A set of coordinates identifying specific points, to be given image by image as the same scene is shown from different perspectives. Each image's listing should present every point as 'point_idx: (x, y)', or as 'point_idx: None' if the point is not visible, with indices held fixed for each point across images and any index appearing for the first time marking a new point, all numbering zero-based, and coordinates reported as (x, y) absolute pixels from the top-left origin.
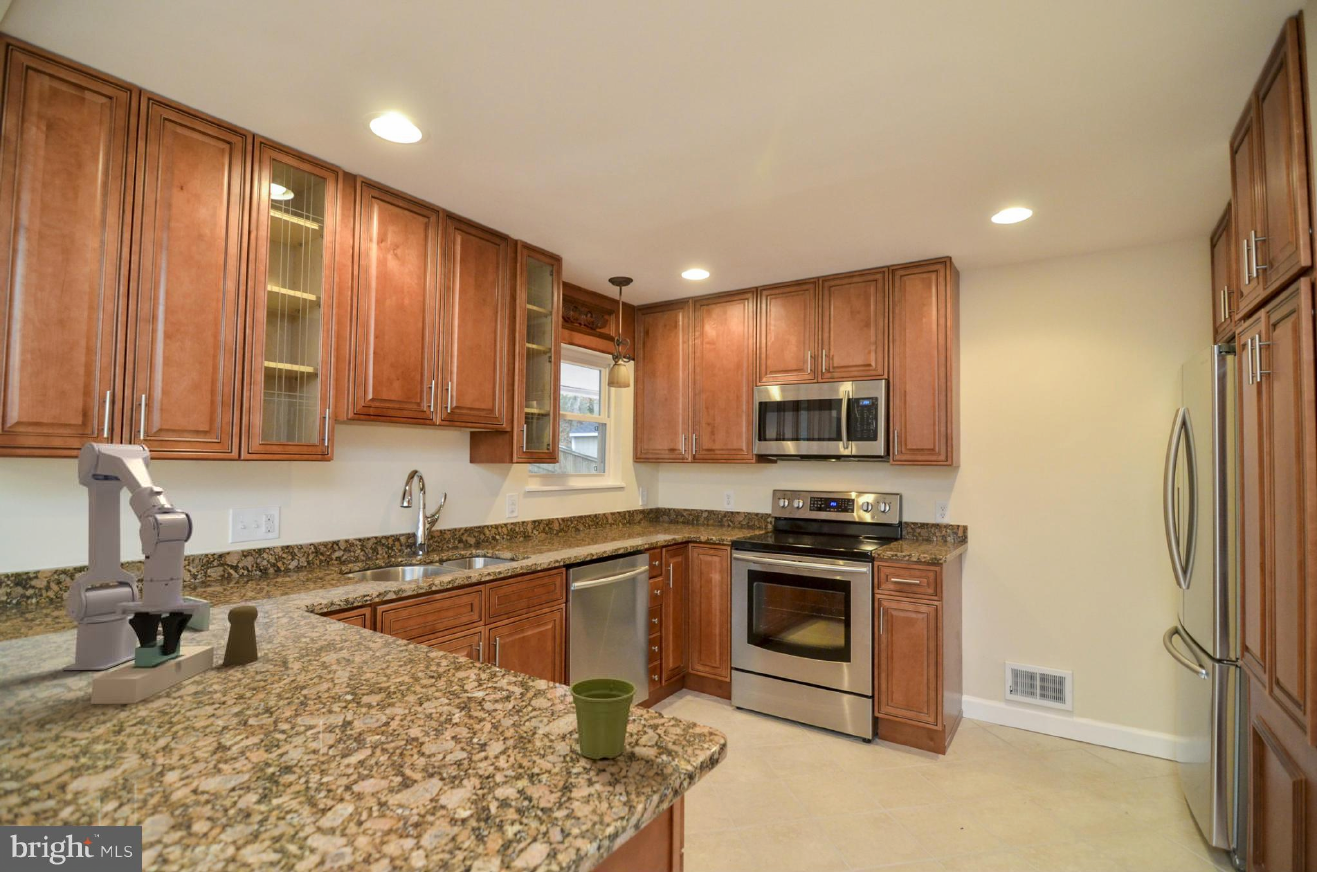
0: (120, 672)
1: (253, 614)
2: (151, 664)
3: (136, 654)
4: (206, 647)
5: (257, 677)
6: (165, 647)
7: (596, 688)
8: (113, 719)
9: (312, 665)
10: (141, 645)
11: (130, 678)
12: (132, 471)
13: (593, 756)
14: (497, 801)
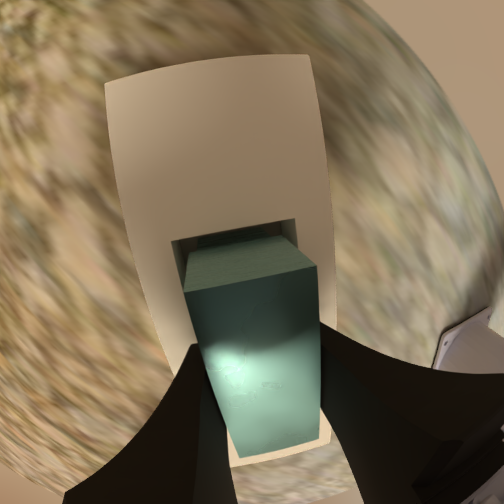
0: (275, 151)
1: None
2: (193, 253)
3: (290, 252)
4: (231, 460)
5: (29, 366)
6: (192, 365)
7: None
8: (95, 10)
9: (26, 425)
10: (340, 337)
11: (136, 78)
12: None
13: None
14: None
